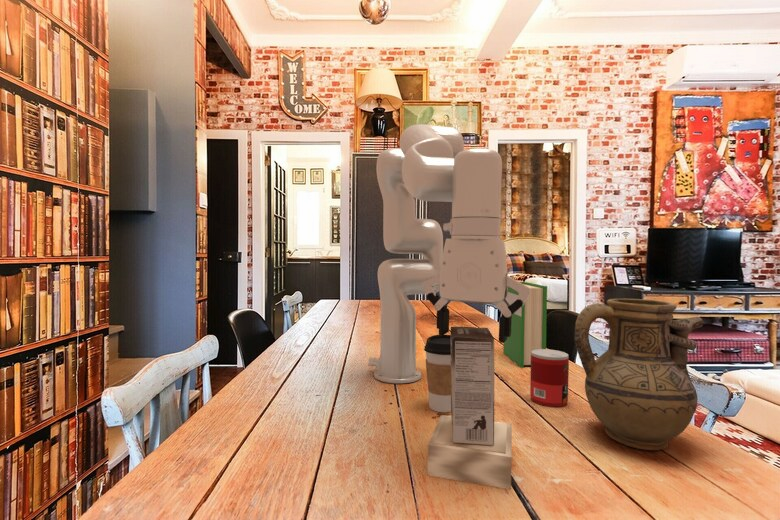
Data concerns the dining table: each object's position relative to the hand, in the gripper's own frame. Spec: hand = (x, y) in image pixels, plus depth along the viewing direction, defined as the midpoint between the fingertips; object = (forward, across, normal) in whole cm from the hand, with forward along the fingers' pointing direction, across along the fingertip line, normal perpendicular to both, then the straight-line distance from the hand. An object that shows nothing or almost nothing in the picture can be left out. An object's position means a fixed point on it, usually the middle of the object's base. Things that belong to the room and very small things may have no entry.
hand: (472, 337), depth 66 cm
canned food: (+21, +9, +34) cm, 41 cm away
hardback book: (+22, -2, +69) cm, 72 cm away
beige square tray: (+20, +1, -1) cm, 20 cm away
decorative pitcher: (+20, +25, +21) cm, 38 cm away
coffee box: (+15, 0, -1) cm, 15 cm away
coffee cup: (+21, -11, +19) cm, 30 cm away
